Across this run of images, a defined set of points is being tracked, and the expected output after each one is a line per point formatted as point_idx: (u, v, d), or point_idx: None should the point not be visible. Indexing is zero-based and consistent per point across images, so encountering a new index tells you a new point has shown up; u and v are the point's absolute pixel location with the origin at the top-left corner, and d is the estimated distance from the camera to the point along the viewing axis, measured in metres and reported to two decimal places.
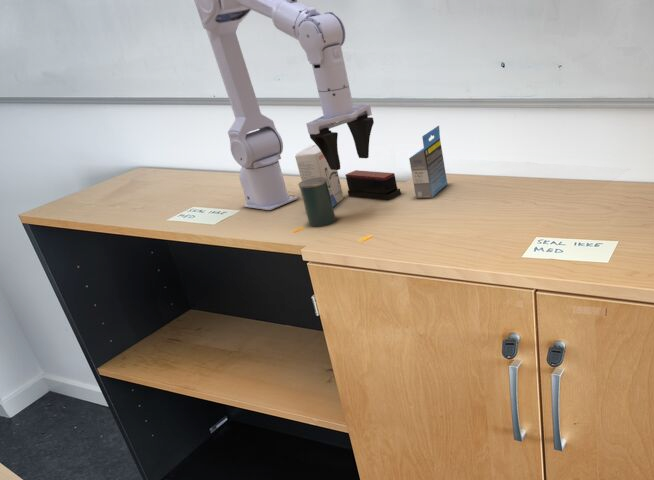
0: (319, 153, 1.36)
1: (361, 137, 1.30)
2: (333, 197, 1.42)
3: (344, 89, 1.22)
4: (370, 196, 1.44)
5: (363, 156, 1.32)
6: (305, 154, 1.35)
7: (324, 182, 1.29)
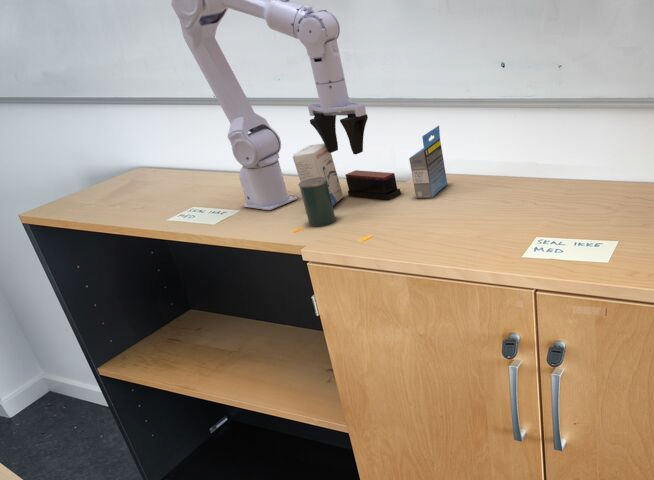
0: (316, 152, 1.36)
1: (331, 131, 1.39)
2: (332, 196, 1.42)
3: None
4: (370, 196, 1.44)
5: (335, 148, 1.40)
6: (302, 154, 1.36)
7: (324, 182, 1.29)
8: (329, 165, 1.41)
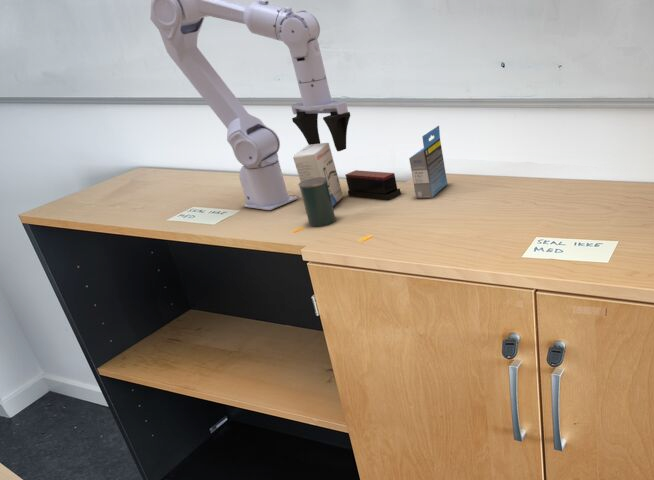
0: (317, 153, 1.36)
1: (313, 129, 1.42)
2: (333, 196, 1.42)
3: None
4: (370, 196, 1.44)
5: None
6: (303, 155, 1.35)
7: (324, 182, 1.29)
8: (330, 165, 1.41)
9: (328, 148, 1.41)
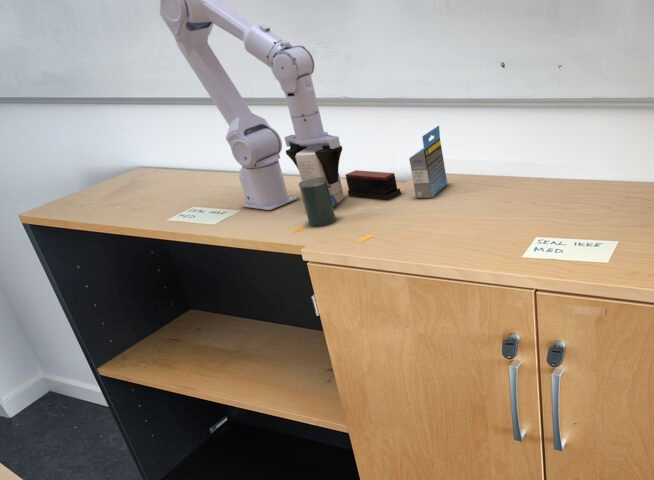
0: None
1: None
2: (333, 197, 1.42)
3: None
4: (370, 196, 1.44)
5: None
6: (305, 154, 1.35)
7: (324, 182, 1.29)
8: None
9: None
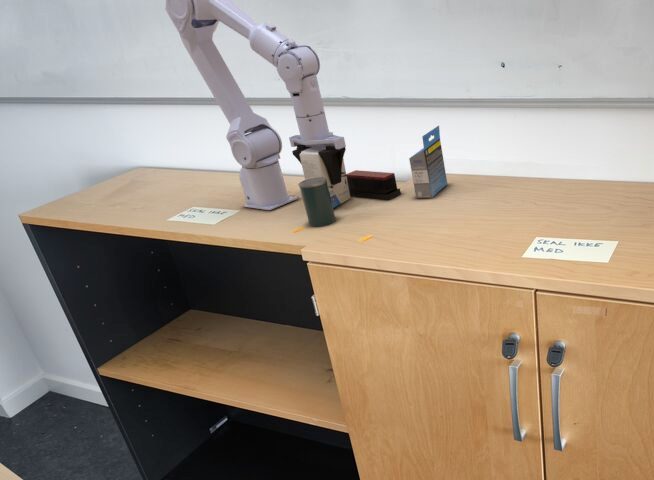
0: None
1: None
2: (336, 197, 1.41)
3: None
4: (370, 196, 1.44)
5: None
6: (309, 153, 1.35)
7: (324, 182, 1.29)
8: None
9: None
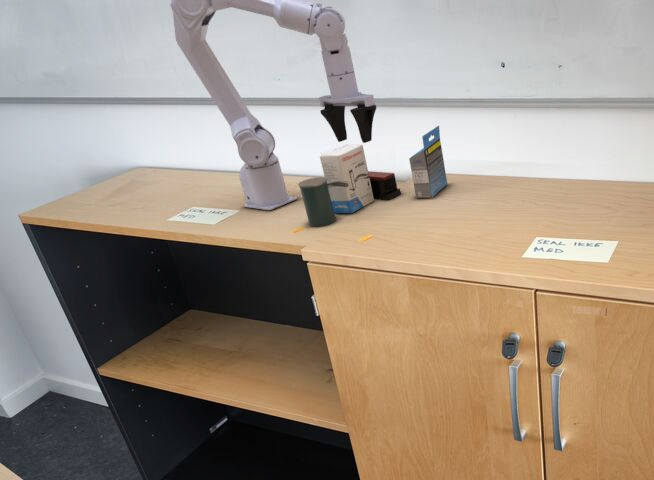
0: (343, 155, 1.32)
1: (340, 121, 1.46)
2: (358, 200, 1.37)
3: (350, 71, 1.41)
4: None
5: (344, 138, 1.48)
6: (329, 155, 1.32)
7: (324, 182, 1.29)
8: (359, 168, 1.36)
9: (360, 150, 1.36)
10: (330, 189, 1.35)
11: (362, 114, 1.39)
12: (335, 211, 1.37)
